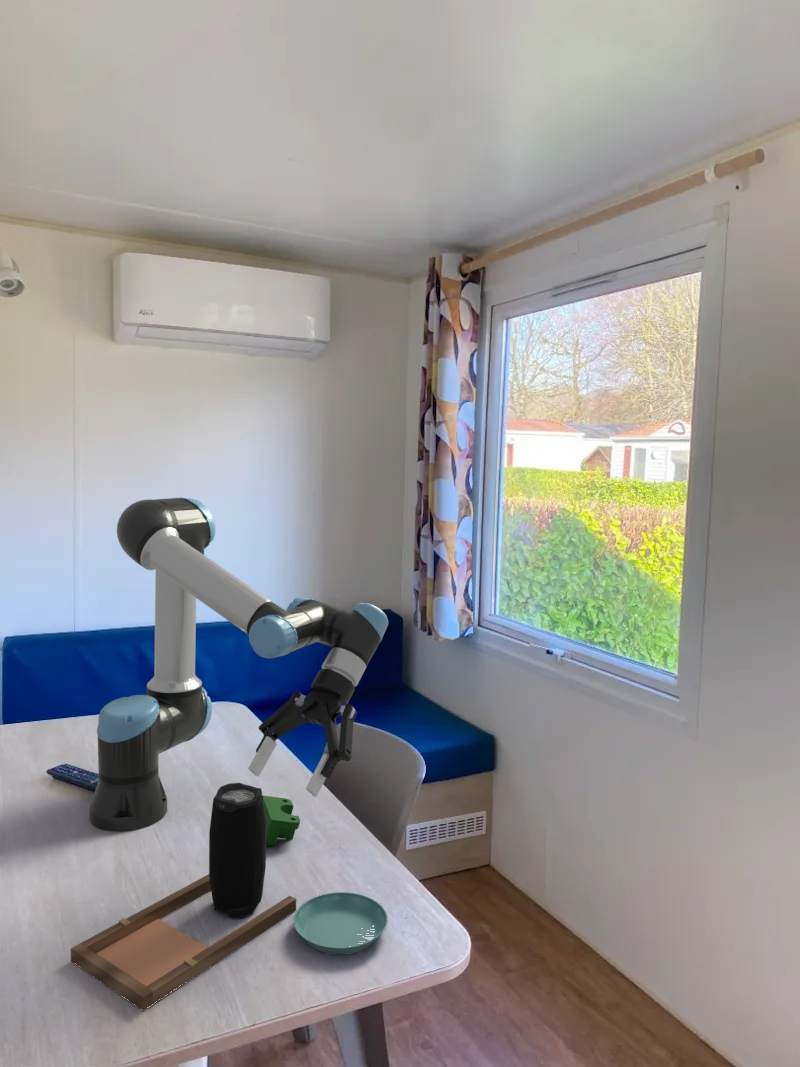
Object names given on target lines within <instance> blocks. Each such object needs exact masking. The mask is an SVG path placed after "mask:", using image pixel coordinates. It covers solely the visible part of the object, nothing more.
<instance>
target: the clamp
mask: <svg viewBox="0 0 800 1067" xmlns="http://www.w3.org/2000/svg"><path fill="white" fill-rule="evenodd" d="M262 802H263V808H264V813H265V819H266V847H275V846H276V845H277V842H278V839H285V840H293V839H294V836H295V832H296V830H299V828H300V823H301V819H300V816H299V815H293V814H292V813H293V810H294V803H293V802H292V800H291V799H289V798H285V797H278V796H271V795H263V800H262Z"/></svg>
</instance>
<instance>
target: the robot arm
mask: <svg viewBox="0 0 800 1067" xmlns="http://www.w3.org/2000/svg"><path fill="white" fill-rule="evenodd" d="M215 535H216V523H215V519H214V516H213V514H212V512H211V511H210V509H208V507H207V506H206V505H205V504H204V503H203V502H202V501H200V500H198V499H194V498H189V497H188V498H187V497H170V498H156V499H142V500H137V501H135V502H134V503H132V504H130V505H128V506H127V507H126V508H125V509H124V510H123V511H122V513H121V514H120V516H119V518H118V521H117V525H116V537H117V541H118V543H119V546H121V548H122V550H123V551H124V553H125V554H126V555H127V556H128V557H130V559H131V560H132V561H134V562H135V563H137V564H138V565H140V566H141V567H142V568H143V569H145V570H147V571H154V570H155V580H154V581H155V588H154V590H155V591H154V593H155V594H154V596H155V597H154V598H155V599H154V601H155V602H154V667H153V668H154V671H153V672H154V673H153V674H154V676H153V677H152V678H151V679H150V680H149V681H148V682H147V684H146V694H134V695H129V696H123V697H120V698H117V699H114V700H112V701H110V702H109V703H107V704H105V705H104V706H103V707H102V708H101V710H100V712H99V714H98V719H97V720H98V724H97V728H96V734H97V754H98V755H97V756H98V757H97V760H98V761H97V762H98V781H97V785H96V786H95V791H94V794H93V797H92V802H91V803H90V805H89V806H90V807H89V822H90V821H91V822H90V823H91V824H92V825H93V826H94V827H96V828H99V829H101V830H107V831H115V832H116V831H118V832H119V831H121V832H122V831H129V830H130V831H132V830H137V829H141V828H145V827H148V826H150V825H153V824H155V823H157V822H158V821H160V820H161V819H163V818H164V817H165V816H166V814H167V813H168V798H167V794H166V792H165V789H164V786H163V782H162V780H161V777H160V775H159V755H160V754H162V753H164V752H167V751H168V750H170V749H172V748H175V747H177V746H179V745H181V744H183V743H186V742H189V741H192V740H193V739H194V738H195V737H197V736H198V735H200V734H201V733H203V732H204V731H205V729H207V727H208V725H209V723H210V722H211V718H212V714H213V704H212V700H211V698H210V696H208V692H207V691H206V689H205V688H204V687H203V681H202V680H201V679H200V678H198V676H197V675H196V637H197V636H196V632H197V630H196V629H197V627H196V626H197V600H198V601H200V602H201V603H203V604H204V605H205V606H207V607H208V608H210V609H211V610H213V611H214V612H216V613H217V614H218V615H220V616H221V617H222V618H224V619H225V620H226V621H228V622H229V623H231V624H232V625H234V626H235V627H236V628H238V629H239V630H241V631H242V632H244V633H245V634H246V635H247V636H248V639H249V644H250V646H251V648H252V649H253V652H254V653H255V654H256V655H258V656H259V657H261V658H265V659H275V658H278V657H283V656H286V655H288V654H290V653H292V652H294V651H296V650H299V649H301V648H304V647H307V646H309V645H312V644H314V643H321V644H323V645H327V646H329V647H332V648H331V650H330V651H329V653H328V654H327V656H326V658H325V660H324V662H323V663H322V665H321V669H320V670H319V671H317V674H316V676H315V677H314V679H313V681H312V683H311V688H310V692H309V693H308V694H307V695H304V694H302V693H301V692H300V691H299V690H295V691H294V692H293V693H292V695H291V696H290V697H289V699H288V700H287V701H285V702H284V704H282V705H281V706H280V707H279V708H277V710H276V711H275V712H273V713H272V714H271V715H270V716H269V717H267V718H266V720H264V721H263V722H262V723H261V724H260V725H259V726H258V730H259V731H260V732H261V733H262V734H263V737H262V738H261V741H260V742H259V744H258V746H257V747H256V749H255V753H256V754H255V755H254V757H253V759H252V760H251V762H250V764H249V766H248V770H249V771H250V772H251V773H252V774H253V775H254V776H256V777H260V775H261V773H262V772H263V771H264V768H265V766H266V764H267V762H268V761H269V759H270V757H271V756H272V755H273V754H272V753H273V752H274V750H275V748H276V747H277V745H278V744H277V742H276V741H277V740H279V739H280V738H282V737H283V736H285V735H287V734H289V733H290V732H291V731H293V730H295V729H296V728H298V727H300V726H301V725H303V724H304V725H306V724H308V723H310V724H313V725H315V724H317V725H319V726H321V727H324V733H325V738H326V744H327V750H328V751H326V753H327V754H326V753H323V755H322V756H321V759H320V760H319V762H318V764H317V766H316V768H315V770H314V772H313V774H312V775H311V777H310V780H309V781H308V783H307V784H306V787H305V790H306V791H307V792H308V793H309V794H310V795H311V796H313V797H315V798H317V797H318V795H319V793H320V791H321V789H322V788H323V785H324V783H325V781H326V779H329V778H331V776H332V774H333V772H334V771H335V769H336V767H337V765H338V763H339V762H340V761H346V762H349V761H350V760H351V759H352V752H353V749H352V748H353V736H354V735H353V732H354V723H355V722H354V721H355V720H356V717H357V714H358V712H357V710H356V709H355V708H354V707H353V705H352V704H350V703H349V702H350V700H351V698H352V696H353V694H354V692H355V690H356V689H355V687H357V686H358V685H359V682H360V681H361V678H362V676H363V674H364V672H365V670H366V669H367V667H368V666H369V664H370V661H371V660H372V658H373V656H374V654H375V652H376V650H377V649H378V647H379V645H380V643H382V640H383V638H384V635H385V632H386V631H387V628H388V626H389V620H388V619H389V618H388V616H387V614H386V613H385V612H384V611H383V610H382V609H381V608H379V607H377V606H375V605H374V604H371V603H368V602H364V603H363V602H359V603H357V604H356V605H355V606H354V607H353V608H352V610H351V611H350V610H348V609H342V608H340V607H336V606H333V605H330V604H328V603H324V602H321V601H319V600H317V599H314V598H308V597H304V596H298V597H295V598H294V599H293V601H292V602H290V603H289V604H288V606H287V607H286V609H284V608H282V607H281V606H279V605H277V604H276V603H274V602H273V601H272V600H270V599H269V598H267V597H266V596H264V595H263V594H262V593H260V592H258V590H256V589H254V588H253V587H251V586H250V585H248V584H247V583H245V582H244V581H242V580H241V579H240V578H238V577H237V576H235V575H234V574H232V573H231V572H229V571H228V570H226V569H225V568H223V567H222V566H221V565H219V564H217V563H216V562H215V561H213V560H212V559H210V558H209V557H207V556H206V555H205V549H206V548H207V547H209V546H210V545H211V543H212V542H213V540H214V538H215ZM303 713H304V714H303ZM340 716H341V717H340ZM338 717H340V719H341V720H340V727H339V728H340V731H339V737H338V731H337V728H338V726H337V721H336V719H337V718H338Z"/></svg>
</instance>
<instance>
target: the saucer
mask: <svg viewBox="0 0 800 1067" xmlns="http://www.w3.org/2000/svg"><path fill="white" fill-rule="evenodd" d="M388 918H389V917H388V914H387V911H386V909H385V907H384V906H383V905H382V904H381V903H379V902H378V901H377V900H375V899H373V898H372V897H368V896H367V895H365V894H364V895H363V894H361V893H355V892H346V891H335V892H333V891H332V892H329V893H328V892H327V893H323V894H319V895H316V896H314V897H312V898H310V899H308V900H307V901H305V902H304V903H302V904H301V905H299V907H298V908H296V911H295V913H294V915H293V926H294V929H295V931H296V932H297V933H298V935H299V936H300V937H301V939H302V940H303V941H304V942H306V943H307V944H308V945H309V946H311V947H312V948H313V949H316V950H317V951H320V952H323V953H326V954H329V955H337V954H342V955H350V954H349V953H351V954H355V953H357V951H358V952H360V951H362V950H364V949H366V948H368V947H369V946H371V945H373V943H375V942H376V941H377V940H378V939H379V938H380V936H381V935H382V934H383V933H384V932H385V930H386V928H387V926H388V921H389V920H388ZM373 925H374V927H372V926H373ZM361 928H363V929H361ZM370 929H375V930H370ZM367 930H369V931H367ZM370 931H375V932H374V933H373V932H370ZM366 933H369V934H366ZM357 934H362V935H357ZM365 935H374V936H365ZM362 936H364V937H374V938H373V939H372V940H370V941H369V940H367V939H365V938H363V937H362ZM359 941H365V942H359ZM358 943H363V944H358ZM349 946H351V947H349ZM354 952H355V953H354Z"/></svg>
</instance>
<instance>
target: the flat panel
mask: <svg viewBox="0 0 800 1067" xmlns="http://www.w3.org/2000/svg"><path fill="white" fill-rule="evenodd" d="M208 947H209V946H207V945H205V944H204V943H202V942H200V941H198V940H196V939H195V938H193V937H192V936H190V935H187V934H185V933H184V932H182V931H180V930H179V929H177V928H175V927H173V926H172V925H171V924H168V923H167V922H165V921H163V920H161V918H160V919H156V920H154V921H153V922H151V923H149V924H147V925H145V926H144V927H142V928H140V929H138V930H137V931H135V932H133V933H131V934H129V935H128V936H126V937H124V938H122V939H120V940H119V941H117V942H115V943H113V944H111V945H110V946H108V947H106V948H104V949H103V950H101V951H99V952H97V953H96V954H97V955H99V956H100V957H102V958H103V959H105V960H106V961H108V962H109V963H111V964H112V965H114V966H115V967H117V968H118V969H120V970H121V971H123V972H124V973H126V974H127V975H129V976H130V977H132V978H133V979H135V980H136V981H138V982H139V983H141V984H142V985H144V986H145V987H146V986H148V985H150V984H151V983H153V982H154V981H156V980H157V979H159V978H161V977H162V976H164V975H165V974H167V973H168V972H170V971H172V970H173V969H175V968H176V967H178V966H179V965H181V964H183V963H184V960H185V959H187V958H189V957H190V958H192V957H194V956H195V955H197V954H198V953H200V952H201V951H203V950H205V949H206V948H208Z"/></svg>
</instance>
